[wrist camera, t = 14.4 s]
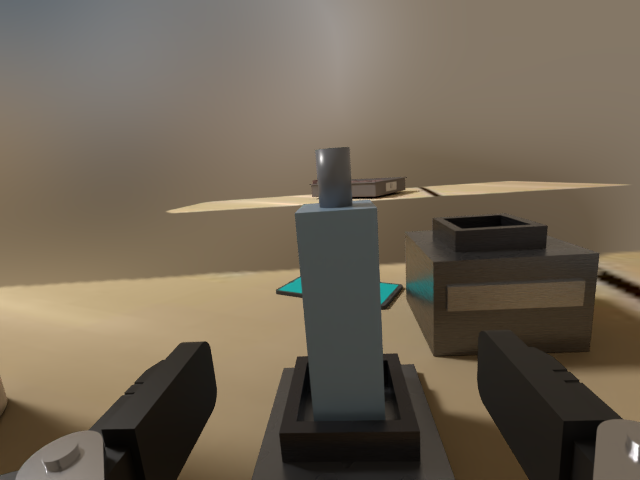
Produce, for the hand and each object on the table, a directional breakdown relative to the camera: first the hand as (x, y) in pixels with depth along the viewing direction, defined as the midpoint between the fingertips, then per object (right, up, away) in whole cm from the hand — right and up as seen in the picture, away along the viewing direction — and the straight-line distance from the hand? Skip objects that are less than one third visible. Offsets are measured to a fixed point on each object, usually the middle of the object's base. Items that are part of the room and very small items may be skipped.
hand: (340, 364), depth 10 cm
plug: (+1, -7, +11) cm, 13 cm away
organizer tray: (+20, +27, +168) cm, 171 cm away
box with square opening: (+15, -4, +23) cm, 28 cm away
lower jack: (+1, -8, +11) cm, 14 cm away
